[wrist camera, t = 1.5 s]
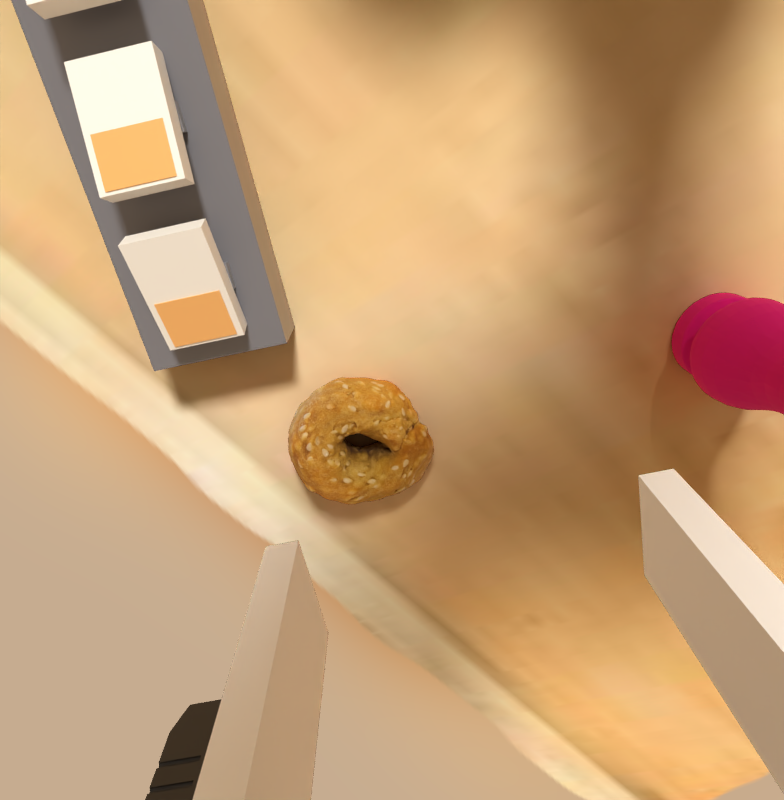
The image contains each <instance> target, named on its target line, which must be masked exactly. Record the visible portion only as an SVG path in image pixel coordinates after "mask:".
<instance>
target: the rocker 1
mask: <svg viewBox="0 0 784 800" xmlns="http://www.w3.org/2000/svg"><path fill="white" fill-rule="evenodd" d="M117 1H121V0H26V4H27V6H29V7H30V8H31V9H32V10H34V11H35V12H36V13H37V14H38V15H40V16H41V17H42V18H43V19H49V18H53V17H57V16H61V15H65V14H69V13H73V12H77V11H81V10H85V9H89V8H93V7H97V6H101V5H105V4H109V3H113V2H117Z"/></svg>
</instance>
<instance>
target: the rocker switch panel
mask: <svg viewBox="0 0 784 800" xmlns="http://www.w3.org/2000/svg"><path fill="white" fill-rule="evenodd" d="M11 1H12V3H13V6H14V9H15V11H16V14H17V16H18V19H19V22H20V24H21V27H22V29H23V32H24V35H25V37H26V40H27V42H28V45H29V48H30V50H31V53H32V55H33V58H34V60H35V63H36V66H37V68H38V71H39V73H40V76H41V79H42V81H43V84H44V86H45V89H46V92H47V94H48V97H49V99H50V102H51V105H52V107H53V110H54V112H55V115H56V118H57V120H58V123H59V125H60V128H61V131H62V133H63V136H64V138H65V141H66V143H67V146H68V149H69V151H70V154H71V156H72V159H73V162H74V164H75V167H76V169H77V172H78V175H79V177H80V180H81V182H82V185H83V188H84V190H85V193H86V195H87V198H88V201H89V203H90V206H91V208H92V211H93V214H94V216H95V219H96V221H97V224H98V226H99V229H100V232H101V234H102V237H103V239H104V242H105V245H106V247H107V250H108V252H109V255H110V258H111V260H112V263H113V265H114V268H115V271H116V273H117V276H118V278H119V281H120V284H121V286H122V289H123V291H124V294H125V297H126V299H127V302H128V304H129V307H130V309H131V312H132V315H133V317H134V320H135V322H136V325H137V328H138V330H139V333H140V335H141V338H142V341H143V343H144V346H145V348H146V351H147V354H148V356H149V359H150V361H151V364H152V367H153V369H154V371H157V370H162V369H167V368H171V367H176V366H181V365H186V364H190V363H195V362H200V361H205V360H209V359H214V358H219V357H223V356H228V355H233V354H238V353H242V352H247V351H252V350H257V349H261V348H266V347H271V346H276V345H280V344H285V343H287V342H288V340H289V338H290V336H291V333H292V331H293V329H294V327H295V326H294V323H293V319H292V315H291V312H290V308H289V305H288V301H287V298H286V294H285V290H284V287H283V283H282V280H281V276H280V273H279V269H278V266H277V262H276V258H275V255H274V251H273V248H272V244H271V241H270V237H269V234H268V230H267V226H266V223H265V219H264V216H263V212H262V209H261V205H260V202H259V198H258V194H257V191H256V187H255V184H254V180H253V177H252V173H251V170H250V166H249V162H248V159H247V155H246V152H245V148H244V145H243V141H242V138H241V134H240V130H239V127H238V123H237V120H236V116H235V113H234V109H233V105H232V102H231V98H230V95H229V91H228V88H227V84H226V81H225V77H224V73H223V70H222V66H221V63H220V59H219V56H218V52H217V49H216V45H215V41H214V38H213V34H212V31H211V27H210V24H209V20H208V17H207V13H206V9H205V6H204V2H203V0H121V1H117V2H113V3H109V4H105V5H101V6H97V7H93V8H89V9H85V10H81V11H77V12H73V13H69V14H65V15H61V16H57V17H53V18H49V19H43V18H42V17H41V16H40V15H38V14H37V13H36V12H35V11H34V10H32V9H31V8H30V7H29V6H27V4H26V0H11ZM148 41H152V42H153V43H154V44H155V45H156V46H157V47H158V48H159V49H160V50H161V51H162V52H163V56H164V60H165V65H166V69H167V73H168V77H169V81H170V85H171V89H172V93H173V97H174V101H175V106H176V110H177V114H178V118H179V122H180V126H181V130H182V134H183V138H184V142H185V147H186V151H187V155H188V159H189V163H190V167H191V171H192V175H193V179H194V183H195V184H193V185H188V186H184V187H180V188H175V189H171V190H167V191H162V192H158V193H153V194H149V195H145V196H140V197H136V198H132V199H127V200H123V201H119V202H114V203H112V202H109V201H107V200H104V199H101V198H100V197H99V193H98V189H97V185H96V182H95V178H94V174H93V170H92V167H91V163H90V159H89V155H88V152H87V148H86V144H85V140H84V136H83V133H82V129H81V125H80V121H79V118H78V114H77V110H76V106H75V102H74V99H73V95H72V91H71V87H70V84H69V80H68V76H67V72H66V69H65V65H64V62H66V61H71V60H75V59H79V58H83V57H87V56H91V55H95V54H99V53H103V52H107V51H111V50H115V49H120V48H124V47H128V46H132V45H136V44H140V43H144V42H148ZM205 218H206V221H207V223H208V226H209V228H210V231H211V233H212V236H213V239H214V241H215V244H216V246H217V249H218V251H219V254H220V256H221V259H222V261H223V264H224V266H225V269H226V271H227V274H228V276H229V279H230V282H231V284H232V287H233V289H234V292H235V294H236V297H237V299H238V302H239V304H240V307H241V309H242V312H243V314H244V317H245V319H246V322H247V327H246V331H245V334H244V335H241V336H237V337H232V338H227V339H222V340H218V341H213V342H208V343H204V344H199V345H194V346H190V347H185V348H180V349H175V350H171V351H170V349H169V347H168V345H167V343H166V341H165V339H164V337H163V335H162V333H161V331H160V329H159V327H158V325H157V323H156V321H155V319H154V317H153V315H152V313H151V311H150V309H149V307H148V305H147V303H146V301H145V299H144V297H143V295H142V293H141V291H140V289H139V287H138V285H137V283H136V281H135V279H134V277H133V275H132V273H131V271H130V269H129V267H128V265H127V263H126V261H125V259H124V257H123V255H122V253H121V251H120V249H119V247H118V245H119V244H120V242H121V241H122V240H123V239H124V237H125V236H129V235H134V234H138V233H143V232H147V231H151V230H156V229H160V228H165V227H169V226H174V225H178V224H182V223H187V222H191V221H196V220H200V219H205Z"/></svg>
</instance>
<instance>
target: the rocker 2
mask: <svg viewBox="0 0 784 800" xmlns="http://www.w3.org/2000/svg"><path fill="white" fill-rule="evenodd" d="M64 65H65V69H66V72H67V76H68V80H69V84H70V87H71V91H72V95H73V99H74V102H75V106H76V110H77V114H78V118H79V121H80V125H81V129H82V133H83V136H84V140H85V144H86V148H87V152H88V155H89V159H90V163H91V167H92V170H93V174H94V178H95V182H96V185H97V189H98V193H99V197H100V198H101V199H104V200H107V201H109V202H112V203H114V202H119V201H123V200H127V199H132V198H136V197H140V196H145V195H149V194H153V193H158V192H162V191H167V190H171V189H175V188H180V187H184V186H188V185H193V184H195V183H194V179H193V175H192V171H191V167H190V163H189V159H188V155H187V151H186V147H185V142H184V138H183V134H182V130H181V126H180V122H179V118H178V114H177V110H176V106H175V101H174V97H173V93H172V89H171V85H170V81H169V77H168V73H167V69H166V65H165V60H164V56H163V52H162V51H161V50H160V49H159V48H158V47H157V46H156V45H155V44H154V43H153V42H152V41H148V42H144V43H140V44H136V45H132V46H128V47H124V48H120V49H115V50H111V51H107V52H103V53H99V54H95V55H91V56H87V57H83V58H79V59H75V60H71V61H66V62H64Z"/></svg>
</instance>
